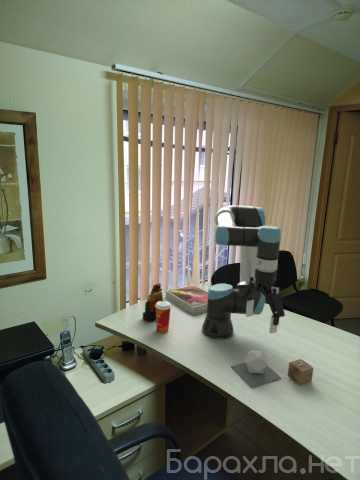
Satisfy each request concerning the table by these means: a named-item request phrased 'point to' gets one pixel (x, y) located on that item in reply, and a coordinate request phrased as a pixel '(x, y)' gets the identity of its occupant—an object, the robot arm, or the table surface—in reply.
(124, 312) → the table surface
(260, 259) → the robot arm
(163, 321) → the paper cup
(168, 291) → the product packaging
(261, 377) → the grey mat
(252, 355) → the die
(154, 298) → the statue
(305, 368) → the letter block
